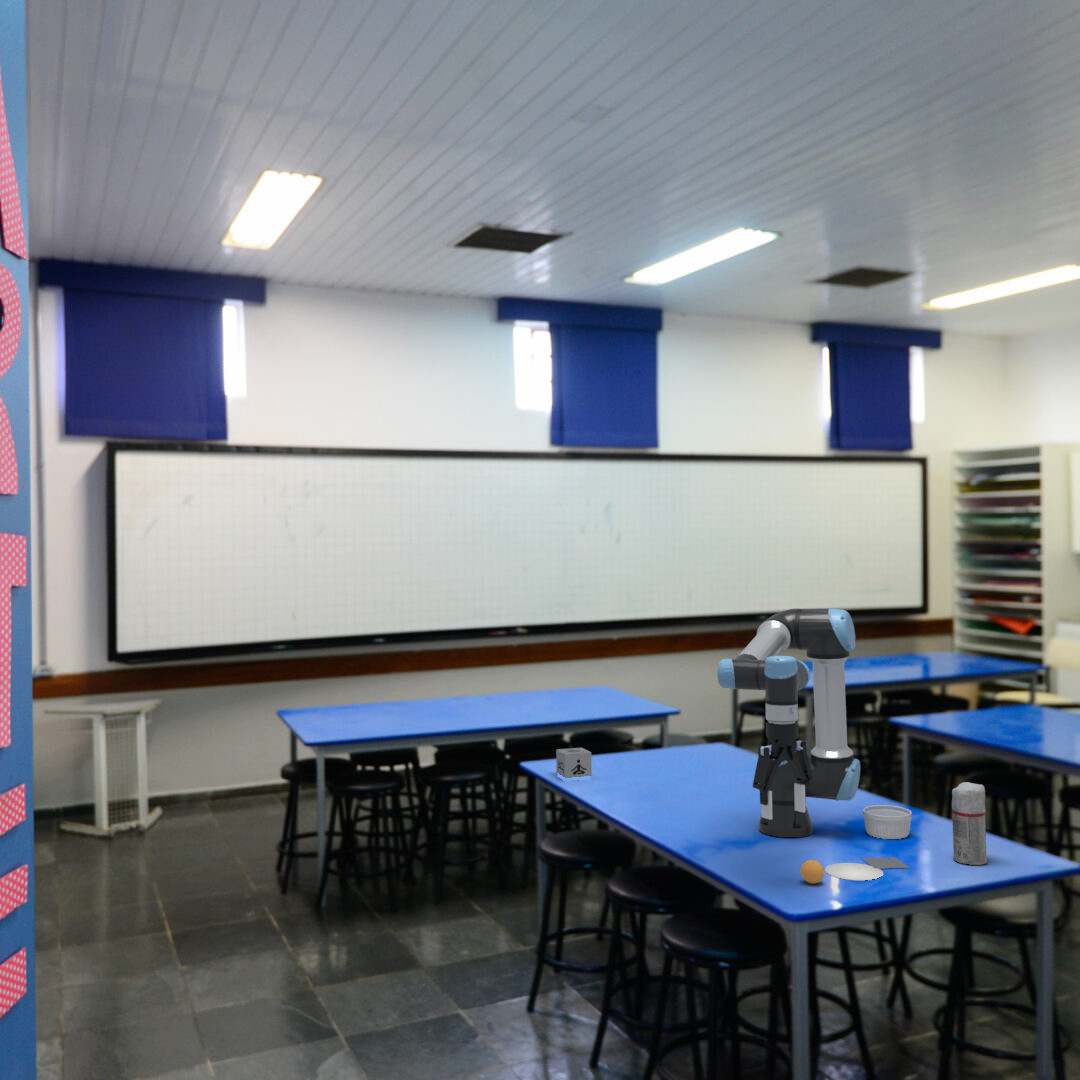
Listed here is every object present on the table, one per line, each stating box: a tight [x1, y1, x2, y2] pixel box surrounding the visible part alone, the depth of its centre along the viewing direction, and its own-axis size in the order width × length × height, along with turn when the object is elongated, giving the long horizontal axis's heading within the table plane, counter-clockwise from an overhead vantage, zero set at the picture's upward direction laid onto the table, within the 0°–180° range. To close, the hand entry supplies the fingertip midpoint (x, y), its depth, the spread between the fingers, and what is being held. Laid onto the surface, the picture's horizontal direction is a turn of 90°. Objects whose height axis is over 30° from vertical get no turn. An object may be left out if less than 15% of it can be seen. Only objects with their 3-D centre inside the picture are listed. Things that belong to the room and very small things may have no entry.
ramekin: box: [862, 804, 913, 840], centre depth 288 cm, size 13×13×7 cm
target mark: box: [824, 862, 884, 882], centre depth 254 cm, size 14×14×1 cm
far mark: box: [861, 856, 910, 870], centre depth 261 cm, size 9×9×1 cm
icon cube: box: [555, 747, 593, 778], centre depth 369 cm, size 10×10×10 cm
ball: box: [800, 859, 825, 884], centre depth 246 cm, size 6×6×6 cm
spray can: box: [951, 781, 988, 866], centre depth 262 cm, size 8×8×20 cm
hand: (783, 814), depth 242 cm, fingers open, 10 cm apart
